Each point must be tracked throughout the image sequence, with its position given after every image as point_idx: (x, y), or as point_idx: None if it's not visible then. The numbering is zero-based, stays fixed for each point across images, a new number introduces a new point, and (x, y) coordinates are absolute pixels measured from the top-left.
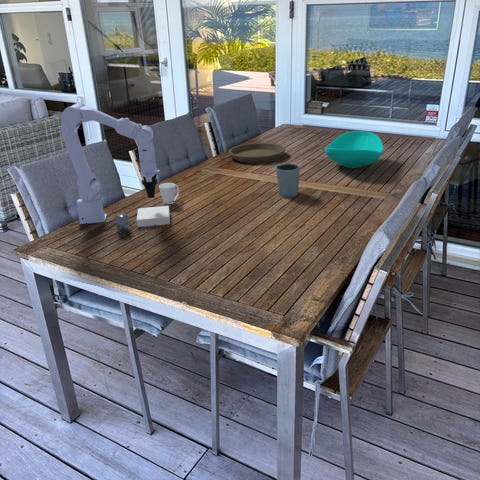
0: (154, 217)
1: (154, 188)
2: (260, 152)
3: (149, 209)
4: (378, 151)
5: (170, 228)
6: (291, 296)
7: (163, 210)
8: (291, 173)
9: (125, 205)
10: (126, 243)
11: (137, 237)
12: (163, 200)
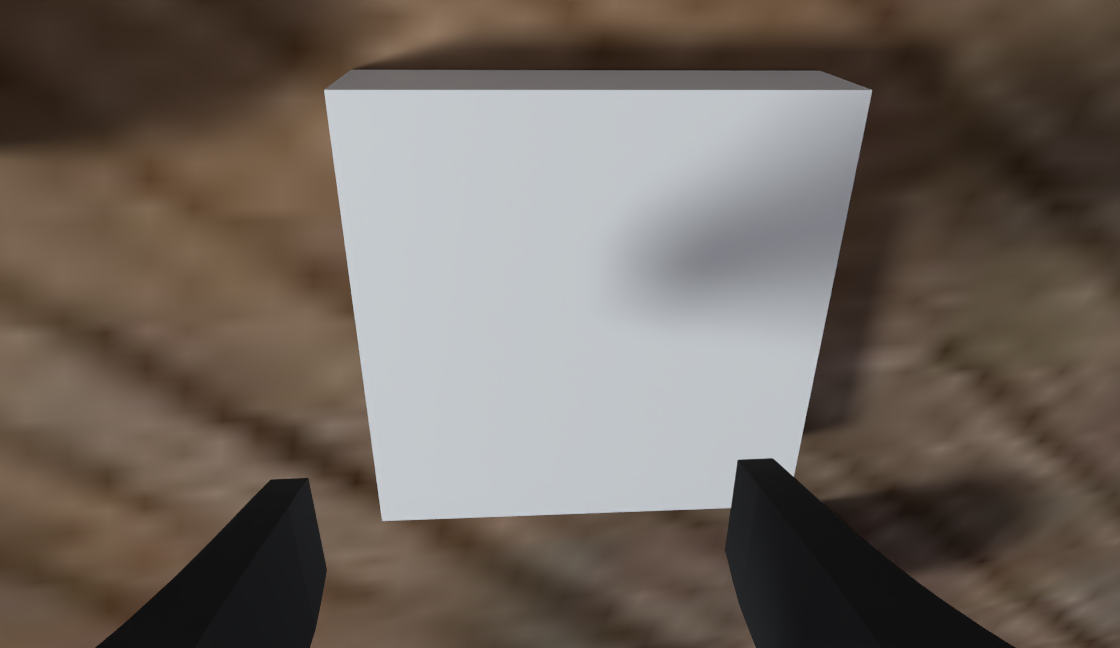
0: (800, 310)
1: (968, 625)
2: None
3: (451, 387)
4: None
5: (971, 64)
6: None
7: (549, 183)
8: None
9: (37, 610)
10: (1106, 504)
11: (1025, 427)
12: None
